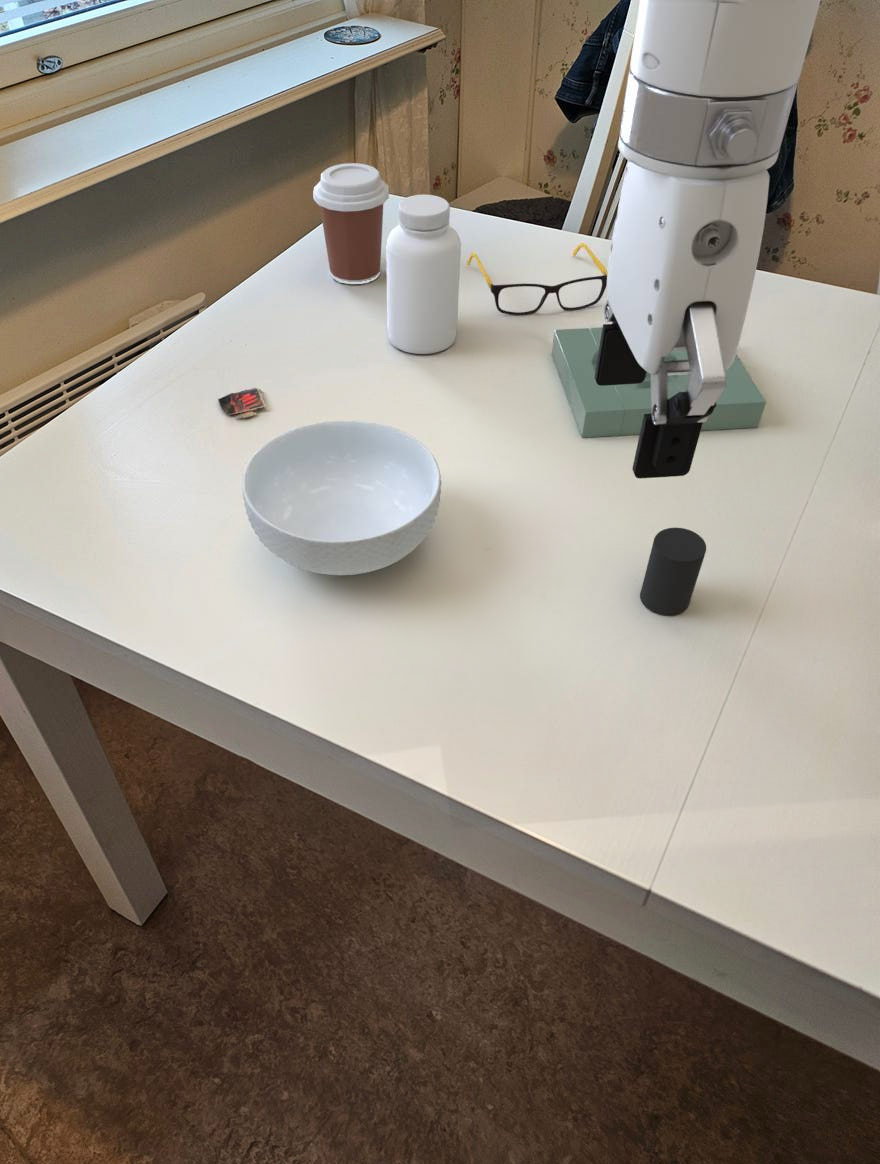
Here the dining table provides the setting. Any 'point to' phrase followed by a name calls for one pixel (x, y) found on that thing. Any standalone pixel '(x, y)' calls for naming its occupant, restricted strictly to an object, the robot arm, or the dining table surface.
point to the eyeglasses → (548, 289)
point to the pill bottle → (423, 276)
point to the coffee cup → (352, 219)
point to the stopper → (672, 571)
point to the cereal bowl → (342, 496)
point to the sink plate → (640, 390)
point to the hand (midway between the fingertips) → (638, 425)
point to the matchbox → (242, 402)
